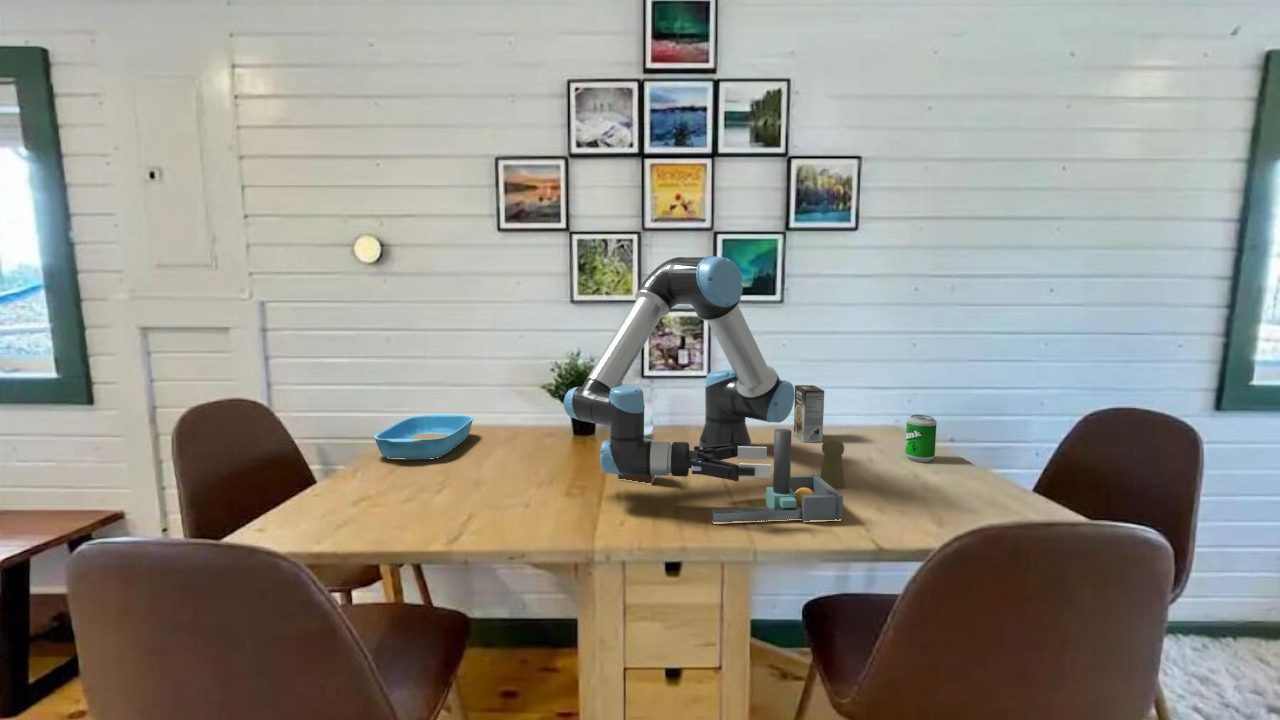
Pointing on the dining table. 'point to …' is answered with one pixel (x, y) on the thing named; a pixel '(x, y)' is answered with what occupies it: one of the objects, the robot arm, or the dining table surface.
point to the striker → (781, 473)
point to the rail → (756, 514)
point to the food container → (639, 477)
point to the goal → (818, 498)
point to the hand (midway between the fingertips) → (768, 461)
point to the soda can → (920, 438)
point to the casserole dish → (398, 435)
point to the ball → (802, 492)
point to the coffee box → (808, 413)
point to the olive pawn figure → (833, 463)
